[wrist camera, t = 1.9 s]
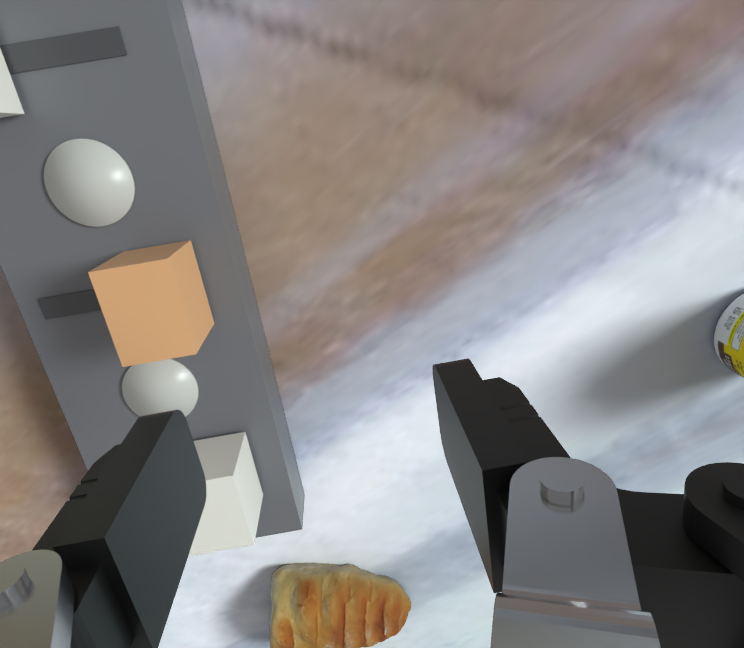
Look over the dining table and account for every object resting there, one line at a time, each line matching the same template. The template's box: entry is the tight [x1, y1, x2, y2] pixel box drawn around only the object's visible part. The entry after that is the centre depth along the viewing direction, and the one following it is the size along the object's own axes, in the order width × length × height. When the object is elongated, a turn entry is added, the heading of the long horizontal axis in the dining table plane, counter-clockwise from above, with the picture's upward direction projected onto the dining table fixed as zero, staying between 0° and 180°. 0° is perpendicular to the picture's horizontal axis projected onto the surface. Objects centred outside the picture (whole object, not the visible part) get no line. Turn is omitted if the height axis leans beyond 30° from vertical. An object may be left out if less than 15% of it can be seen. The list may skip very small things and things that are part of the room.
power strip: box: [0, 0, 305, 538], centre depth 23 cm, size 40×10×3 cm, turn 9°
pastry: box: [269, 563, 411, 648], centre depth 34 cm, size 9×7×4 cm
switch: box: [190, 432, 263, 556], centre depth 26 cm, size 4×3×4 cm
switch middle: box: [88, 240, 214, 367], centre depth 22 cm, size 4×3×4 cm
